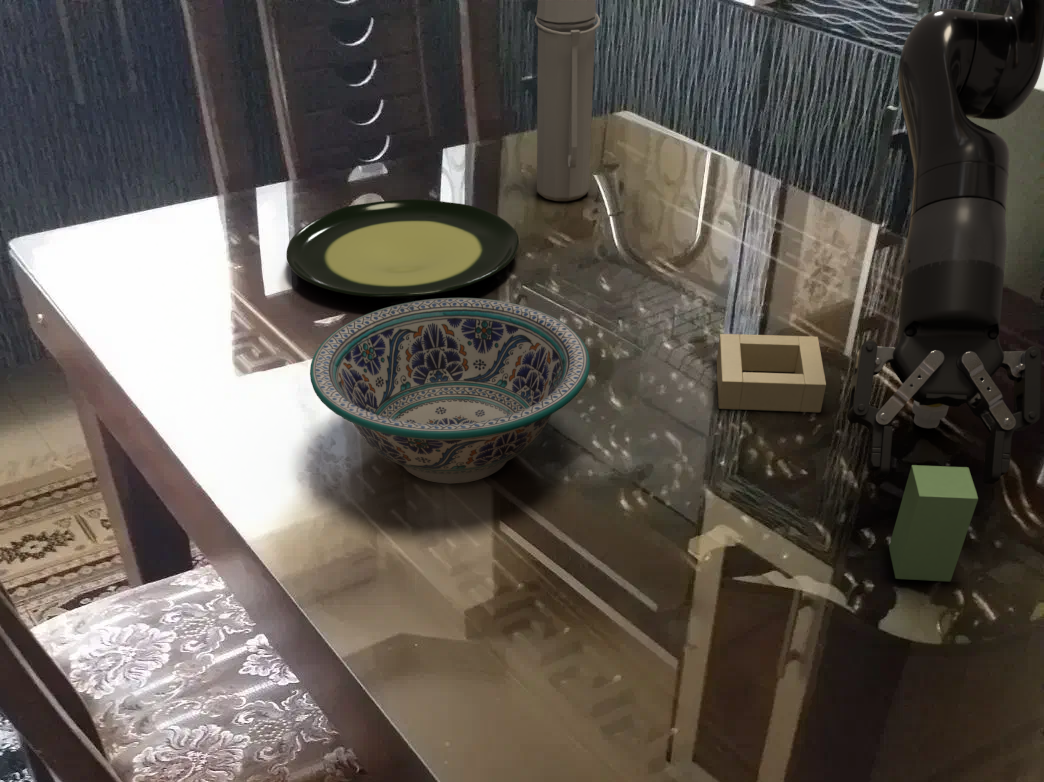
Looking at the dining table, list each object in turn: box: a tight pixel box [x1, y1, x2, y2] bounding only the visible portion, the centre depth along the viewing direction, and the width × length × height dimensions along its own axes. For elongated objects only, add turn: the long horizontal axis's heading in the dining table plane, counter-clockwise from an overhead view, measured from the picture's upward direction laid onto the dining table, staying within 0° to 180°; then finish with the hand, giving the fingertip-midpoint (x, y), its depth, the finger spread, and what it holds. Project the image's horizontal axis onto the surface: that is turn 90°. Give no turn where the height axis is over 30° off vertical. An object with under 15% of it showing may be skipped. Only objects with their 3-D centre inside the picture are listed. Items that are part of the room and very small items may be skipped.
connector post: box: [888, 464, 979, 583], centre depth 92 cm, size 4×4×8 cm
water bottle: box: [533, 0, 601, 202], centre depth 144 cm, size 9×8×25 cm
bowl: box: [309, 297, 591, 484], centre depth 106 cm, size 25×25×10 cm
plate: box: [285, 198, 520, 299], centre depth 138 cm, size 28×28×2 cm
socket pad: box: [715, 333, 827, 413], centre depth 115 cm, size 10×10×3 cm
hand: (936, 479), depth 91 cm, fingers open, 8 cm apart
